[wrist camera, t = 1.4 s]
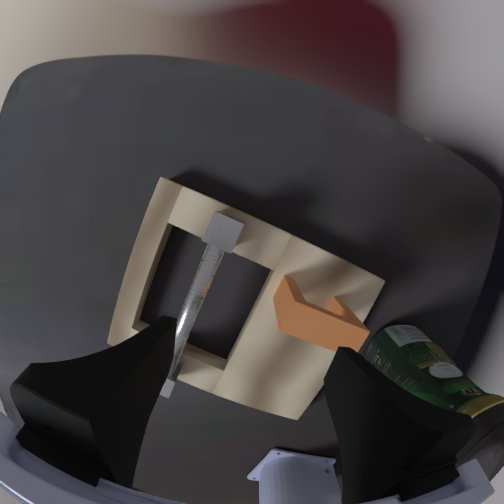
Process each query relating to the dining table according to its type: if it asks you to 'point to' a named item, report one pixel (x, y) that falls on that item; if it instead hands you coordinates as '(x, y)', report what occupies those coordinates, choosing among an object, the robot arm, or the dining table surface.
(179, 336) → the threaded rod assembly
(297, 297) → the orange u-shaped bracket
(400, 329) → the coffee jar
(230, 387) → the beige board with cutout
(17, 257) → the dining table surface
